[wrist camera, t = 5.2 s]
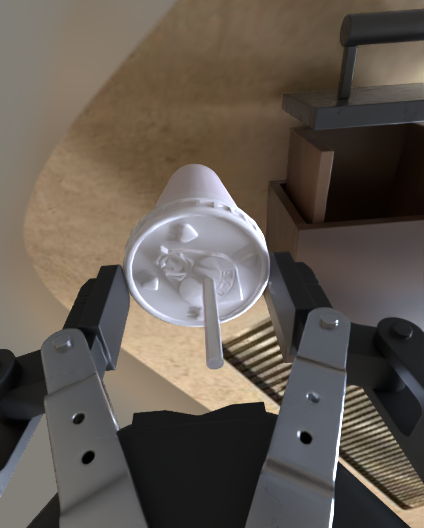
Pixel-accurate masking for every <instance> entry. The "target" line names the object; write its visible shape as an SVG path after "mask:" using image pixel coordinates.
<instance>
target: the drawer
mask: <svg viewBox="0 0 424 528" xmlns="http://www.w3.org/2000/svg"><path fill="white" fill-rule="evenodd" d="M411 41H424V9H414V10H400V11H386V12H372V13H358V14H347V15H346V16H345V17H344V19H343V22H342V25H341V29H340V43H341V45H342V46H345V47H344V52H343V59H342V66H341V73H340V80H339V87H338V89H330V90H317V91H303V92H290V93H283V100H282V110H283V111H285V112H286V113H288V114H290V115H291V116H293V117H294V118H296V119H298V120H299V121H301V122H302V123H304V124H306V125H307V126H309V127H297V128H291V129H290V140H289V154H288V167H287V181H286V195H287V196H288V197H289V199H290V200H291V202H292V203H293V205H294V206H295V208H296V209H297V211H298V212H299V214H300V215H301V217H302V218H303V220H304V221H305V223H306V224H314V223H327V222H339V221H351V220H364V219H376V218H389V217H401V216H414V215H424V83H411V84H398V85H384V86H371V87H357V88H351V84H352V78H353V72H354V66H355V60H356V54H357V48H358V46H357V45H370V44H383V43H397V42H411Z"/></svg>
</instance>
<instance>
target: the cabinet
mask: <svg viewBox="0 0 424 528" xmlns="http://www.w3.org/2000/svg"><path fill="white" fill-rule="evenodd" d="M286 181H287V180H279V181H269V186H268V210H267V234H266V246H267V250H268V253H269V258H270V255H271V253H272V252H284V251H289V252H290V253H291V255H292V257H293V259H294V261H295V262H304V263H305V264H306V265H308V266H309V267H310V268H311V269H312V270H313V272H314V274H315V276H316V278H317V280H318V281H319V283H320V285H321V287H322V289H323V290H324V292H325V294H326V296H327V298H328V300H329V301H330V303H331V305H332V307H333V309H336V310H339V311H340V312H342V313H343V314H345V315H346V316H347V317H348V319H349V321H350V322H352V323H355V324H360V325H367V326H373V327H377V325H378V323H379V321H380V320H382V319H384V318H387V317H397V318H402V319H405V320H408V321H410V322H412V323H414V324H415V325H417V326H418V327H419V328H420V329H421V330H422V331H423V332H424V215H414V216H401V217H389V218H376V219H364V220H351V221H339V222H327V223H314V224H306V223H305V221H304V220H303V218H302V217H301V215H300V214H299V212H298V211H297V209H296V208H295V206H294V205H293V203H292V202H291V200H290V199H289V197H288V196H287V195H286ZM264 298H265V301H266V304H267V307H268V311H269V314H270V317H271V321H272V324H273V327H274V330H275V334H276V337H277V340H278V344H279V347H280V350H281V353H282V356H283V360H284V363H293V361H294V358H295V356H297V355H292V356H290V355H289V352H288V349H287V345H286V342H285V339H284V336H283V333H282V330H281V327H280V324H279V321H278V318H277V314H276V311H275V308H274V305H273V302H272V299H271V296H270V291H269V279H268V282H267V285H266V287H265V289H264Z"/></svg>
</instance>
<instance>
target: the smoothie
mask: <svg viewBox="0 0 424 528" xmlns="http://www.w3.org/2000/svg"><path fill="white" fill-rule="evenodd" d="M269 271H270V258H269V253H268V250H267V246H266V242H265V239H264V235H263V234H262V232H261V231H260V229H259V227H258V226H257V224H256V223H255V221H254V220H253V219H252V218H250V217H249V216H248V215H247V214H246V213H244V212H243V211H242V210H241V209H239V208H238V207H237V206H236V204H235V202H234V201H233V199H232V198H231V196H230V195H229V193H228V192H227V190H226V188H225V187H224V185H223V184H222V182H221V181H220V179H219V178H218V176H217V175H216V173H215V172H214V171H213V170H211V169H210V168H208V167H206V166H204V165H200V164H188V165H185V166H183V167H181V168H179V169H178V170H176V171H175V172H174V173H173V174H172V176H171V178H170V179H169V181H168V183H167V185H166V187H165V188H164V190H163V192H162V194H161V196H160V197H159V199H158V201H157V203H156V204H155V206H154V208H153V210H152V211H151V212H149V213H148V214H146V215H145V216H144V217H143V218H142V219H141V220H140V221H139V222H138V224H137V225H136V226H135V227H134V228H133V230H132V232H131V234H130V237H129V239H128V241H127V244H126V248H125V257H124V262H123V273H124V277H125V280H126V284H127V288H128V290H129V292H130V294H131V296H132V297H133V299H134V300H135V301H136V302H137V303H138V304H139V305H140V306H141V307H142V308H143V309H144V310H145V311H147V312H148V313H149V314H151V315H153V316H154V317H156V318H158V319H160V320H163V321H165V322H168V323H171V324H175V325H180V326H187V327H203V326H205V345H206V363H207V367H208V368H210V369H219V368H221V367H222V366H223V365H224V361H223V352H222V343H221V334H220V323H223V322H226V321H229V320H231V319H233V318H235V317H237V316H239V315H241V314H242V313H244V312H245V311H246V310H248V309H249V308H250V307H251V306H252V305H253V304H254V303H255V302H256V301H257V300H258V299H259V297H260V296H261V295H262V293H263V291H264V289H265V287H266V285H267V282H268V279H269Z"/></svg>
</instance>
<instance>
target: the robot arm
mask: <svg viewBox="0 0 424 528" xmlns="http://www.w3.org/2000/svg"><path fill="white" fill-rule="evenodd" d="M269 291H270V296H271V299H272V302H273V305H274V308H275V311H276V314H277V318H278V321H279V324H280V327H281V330H282V333H283V336H284V339H285V342H286V345H287V349H288V352H289V355H290V356H292V355H297V356H295V358H294V361H293V365H292V368H291V372H290V375H289V379H288V382H287V386H286V389H285V393H284V396H283V400H282V404H281V407H280V411H279V414H278V415H277V414H273V413H269V412H266V410H265V405H264V402H255V403H243V404H232V405H229V406H226V407H223V408H220V409H218V410H215V411H212V412H209V413H206V414H203V415H191V414H185V413H179V412H173V411H167V410H163V411H152V412H140V413H134V414H133V421H132V424H131V425H128V426H126V427H124V428H121V429H120V427H119V424H118V422H117V419H116V416H115V413H114V410H113V407H112V404H111V402H110V399H109V396H108V393H107V390H106V388H105V385H104V382H103V376H104V373H105V371H110V370H115V368H116V363H117V359H118V355H119V350H120V346H121V342H122V337H123V333H124V329H125V324H126V320H127V316H128V311H129V307H130V296H129V291H128V288H127V284H126V280H125V277H124V273H123V269H122V266H121V265H120V264H119V265H107V266H101V268H100V270H99V273H98V275H97V278H92V279H89V280H88V281H87V282H86V283H85V284H84V285H83V286H82V287H81V289H80V291H79V293H78V295H77V298H76V300H75V302H74V305H73V306H72V309H71V311H70V313H69V315H68V318H67V320H66V322H65V324H64V327H63V329H62V330H60V331H58V332H56V333H54V334H52V335H51V336H50V337H48V338H47V339H46V340H45V341H44V343H43V345H42V347H41V349H40V350H37V351H35V352H31V353H28V354H25V355H22V356H19V357H15V356H14V354H13V353H12V352H11V351H10V350H7V349H0V497H1V495H2V493H3V491H4V489H5V487H6V485H7V484H8V482H9V480H10V478H11V476H12V474H13V472H14V470H15V468H16V466H17V464H18V462H19V460H20V458H21V456H22V454H23V453H24V451H25V449H26V447H27V445H28V443H29V441H30V439H31V437H32V435H33V433H34V431H35V429H36V427H37V425H38V423H39V421H40V419H41V418H42V415H43V414H44V413H46V420H47V426H48V432H49V439H50V445H51V452H52V458H53V464H54V470H55V477H56V483H57V489H58V492H57V493H56V494H55V496H54V497H53V498H52V499H51V500H50V501H49V502H48V504H47V505H46V506H45V507H44V508H43V509H42V510H41V511H40V513H39V514H38V515H37V516H36V517H35V518H34V519H33V521H32V522H31V523H30V524H29V525H28V527H27V528H411V527H409V526H408V525H407V524H406V523H405V522H404V521H403V520H402V519H401V518H400V517H399V516H397V515H396V514H395V513H394V512H393V511H392V510H391V509H390V508H389V507H388V506H387V505H385V504H384V503H383V502H382V501H381V500H380V499H379V498H378V497H377V496H376V495H375V494H373V493H372V492H371V491H370V490H369V489H368V488H367V487H366V486H365V485H364V484H363V483H361V482H360V481H359V480H358V479H357V478H356V477H355V476H354V475H353V474H352V473H351V472H349V471H348V470H347V469H346V468H345V467H344V466H343V465H342V464H341V463H340V462H339V461H337V458H338V449H339V440H340V432H341V423H342V414H343V405H344V397H345V388H346V384H351V385H355V386H360V387H362V388H363V390H364V391H365V393H366V394H367V396H368V397H369V399H370V401H371V402H372V404H373V405H374V407H375V408H376V410H377V412H378V413H379V415H380V416H381V418H382V419H383V421H384V422H385V424H386V426H387V427H388V429H389V430H390V432H391V433H392V435H393V437H394V438H395V440H396V441H397V443H398V444H399V446H400V447H401V449H402V451H403V452H404V454H405V455H406V457H407V458H408V460H409V461H410V463H411V465H412V466H413V468H414V469H415V471H416V472H417V474H418V476H419V477H420V479H421V480H422V482H423V483H424V332H423V331H422V330H421V329H420V328H419V327H418V326H417V325H415V324H414V323H412V322H410V321H408V320H405V319H402V318H397V317H387V318H384V319H382V320H380V321H379V323H378V325H377V327H373V326H367V325H360V324H355V323H352V322H350V321H349V319H348V317H347V316H346V315H345V314H343V313H342V312H340V311H339V310H336V309H333V307H332V305H331V303H330V301H329V300H328V298H327V296H326V294H325V292H324V290H323V289H322V287H321V285H320V283H319V281H318V280H317V278H316V276H315V274H314V272H313V270H312V269H311V268H310V267H309V266H308V265H306V264H305V263H304V262H295V261H294V259H293V257H292V255H291V253H290V252H289V251H284V252H272V253H271V255H270V271H269Z"/></svg>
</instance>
